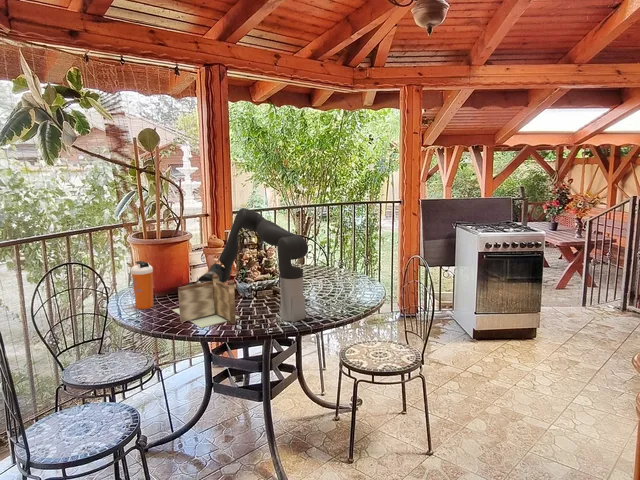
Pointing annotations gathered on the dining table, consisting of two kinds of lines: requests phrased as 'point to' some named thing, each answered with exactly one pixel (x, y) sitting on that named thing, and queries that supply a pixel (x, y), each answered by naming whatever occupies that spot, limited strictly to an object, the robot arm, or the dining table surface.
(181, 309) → the fence panel
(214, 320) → the card
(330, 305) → the dining table surface
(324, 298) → the dining table surface
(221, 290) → the panel
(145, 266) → the shaker bottle
